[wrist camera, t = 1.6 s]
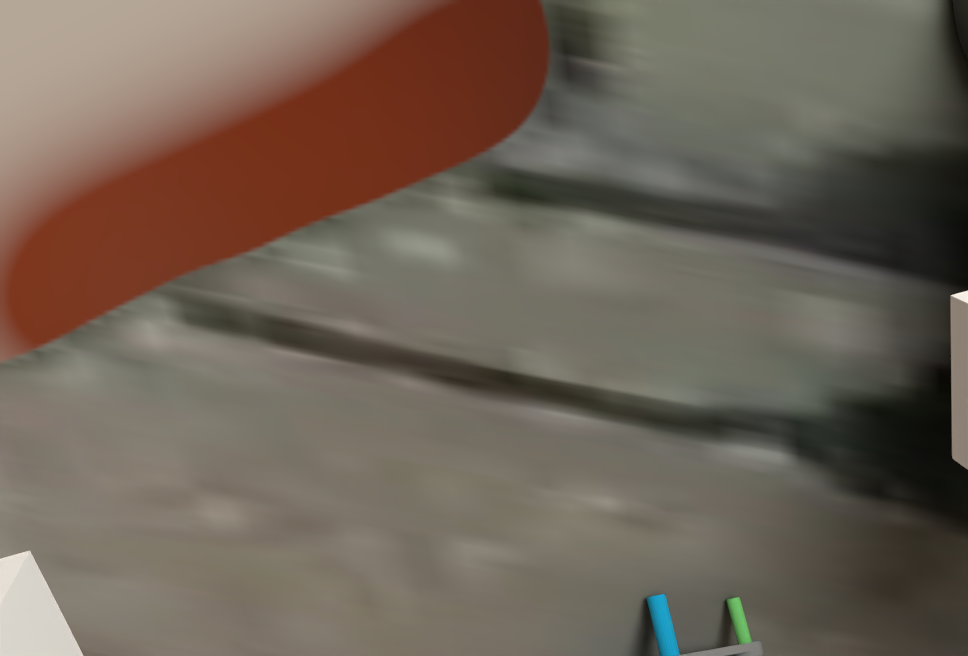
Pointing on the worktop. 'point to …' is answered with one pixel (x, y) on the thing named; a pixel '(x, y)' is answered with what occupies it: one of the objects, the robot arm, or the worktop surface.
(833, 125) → the worktop surface
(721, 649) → the gear
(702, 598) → the worktop surface
